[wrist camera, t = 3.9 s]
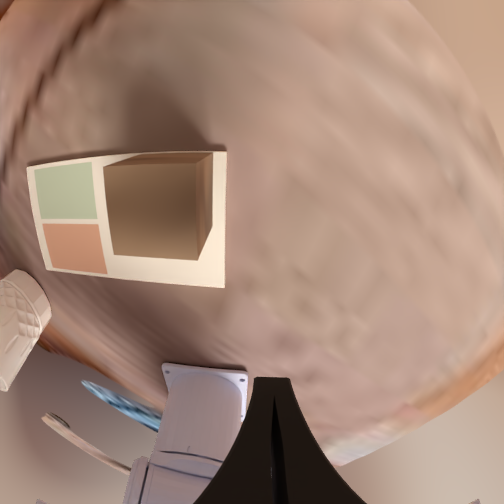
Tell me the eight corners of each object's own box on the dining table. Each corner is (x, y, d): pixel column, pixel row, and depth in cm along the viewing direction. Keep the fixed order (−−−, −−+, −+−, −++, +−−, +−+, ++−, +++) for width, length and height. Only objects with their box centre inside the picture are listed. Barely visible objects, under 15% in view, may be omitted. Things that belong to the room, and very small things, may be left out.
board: (225, 284, 19) (224, 287, 19) (48, 267, 19) (46, 269, 19) (227, 151, 15) (226, 152, 15) (29, 166, 15) (26, 167, 15)
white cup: (0, 281, 20) (-51, 334, 12) (19, 249, 19) (-49, 309, 10) (40, 334, 23) (-1, 394, 14) (68, 313, 21) (15, 388, 12)
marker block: (212, 226, 17) (197, 260, 13) (144, 223, 17) (113, 254, 13) (213, 152, 15) (195, 163, 11) (140, 154, 15) (102, 166, 11)
